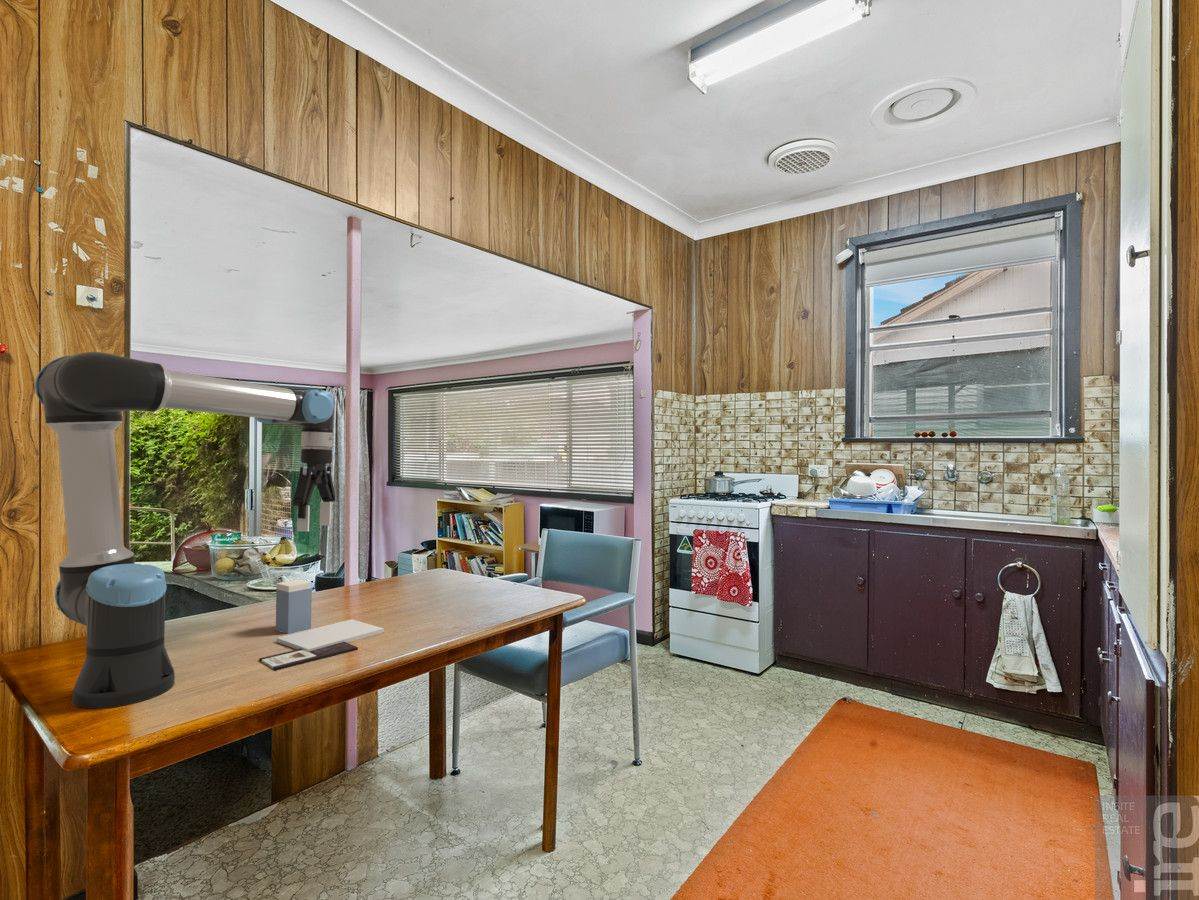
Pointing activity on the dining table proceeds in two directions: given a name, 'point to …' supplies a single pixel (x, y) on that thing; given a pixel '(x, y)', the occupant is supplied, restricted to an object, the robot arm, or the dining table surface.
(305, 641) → the board
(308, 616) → the block
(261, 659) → the chocolate bar
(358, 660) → the dining table surface
